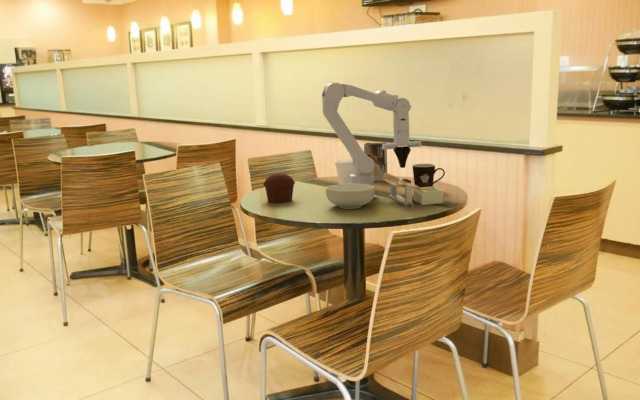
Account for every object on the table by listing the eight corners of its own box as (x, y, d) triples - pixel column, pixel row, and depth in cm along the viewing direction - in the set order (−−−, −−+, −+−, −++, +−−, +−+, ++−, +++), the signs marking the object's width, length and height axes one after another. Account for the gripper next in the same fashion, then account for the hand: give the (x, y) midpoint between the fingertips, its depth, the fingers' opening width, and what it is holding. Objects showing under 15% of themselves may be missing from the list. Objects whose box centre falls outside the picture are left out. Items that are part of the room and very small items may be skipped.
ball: (427, 203, 204) (419, 197, 203) (423, 201, 207) (415, 195, 206) (432, 194, 204) (425, 189, 203) (429, 192, 207) (421, 187, 206)
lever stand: (404, 206, 200) (404, 186, 198) (389, 197, 216) (389, 178, 215) (413, 205, 200) (413, 185, 199) (397, 196, 217) (396, 178, 215)
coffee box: (388, 179, 255) (387, 142, 252) (385, 181, 249) (384, 144, 246) (367, 178, 258) (366, 142, 254) (364, 181, 252) (363, 144, 248)
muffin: (266, 205, 210) (265, 177, 208) (261, 199, 220) (260, 173, 218) (299, 202, 213) (298, 175, 211) (292, 196, 223) (291, 170, 221)
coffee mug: (409, 192, 224) (409, 166, 222) (416, 188, 231) (416, 163, 229) (438, 194, 218) (439, 167, 216) (445, 190, 226) (445, 164, 224)
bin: (422, 204, 201) (422, 192, 200) (413, 200, 209) (413, 187, 208) (443, 203, 203) (443, 190, 202) (433, 198, 211) (433, 186, 210)
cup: (359, 185, 243) (359, 158, 241) (359, 189, 233) (358, 162, 231) (336, 185, 244) (335, 159, 242) (334, 189, 234) (333, 162, 232)
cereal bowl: (384, 205, 202) (384, 185, 201) (352, 214, 191) (351, 193, 190) (348, 199, 214) (348, 180, 213) (316, 207, 203) (315, 187, 202)
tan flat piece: (395, 186, 199) (397, 178, 199) (382, 179, 213) (384, 172, 212) (419, 190, 201) (421, 182, 201) (405, 183, 215) (407, 176, 214)
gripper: (385, 133, 209) (387, 170, 212) (424, 130, 212) (424, 167, 215) (379, 131, 216) (381, 167, 219) (417, 128, 219) (418, 164, 222)
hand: (402, 167), depth 217 cm, fingers closed
